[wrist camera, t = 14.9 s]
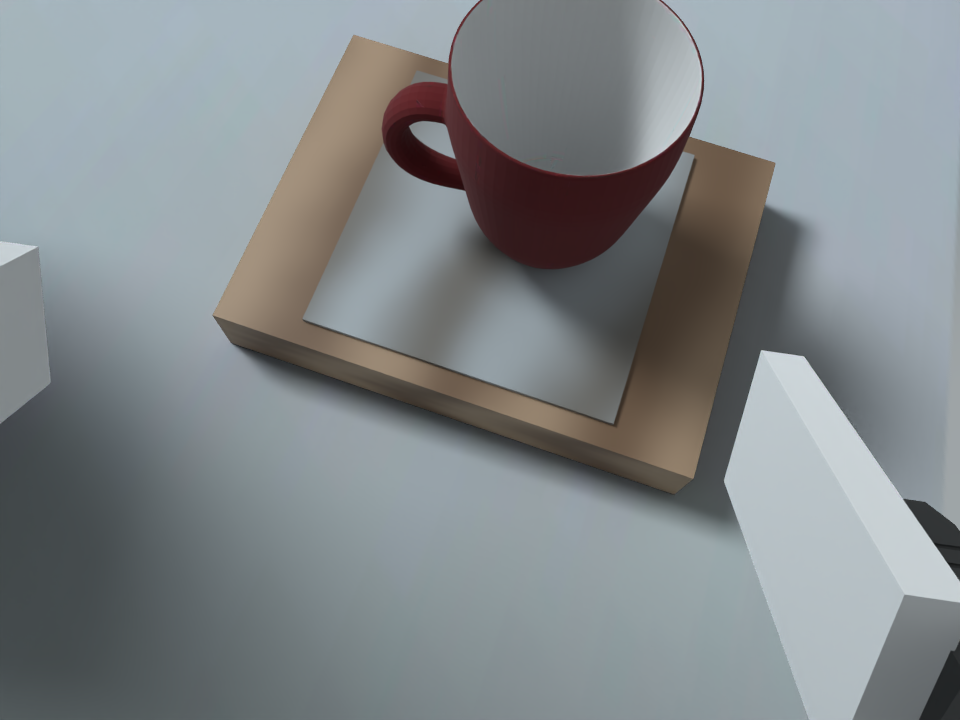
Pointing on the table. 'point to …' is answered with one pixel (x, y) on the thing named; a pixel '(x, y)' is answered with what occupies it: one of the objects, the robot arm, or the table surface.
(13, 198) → the table surface
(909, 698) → the robot arm
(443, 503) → the table surface
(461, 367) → the plinth
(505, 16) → the mug
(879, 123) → the table surface
